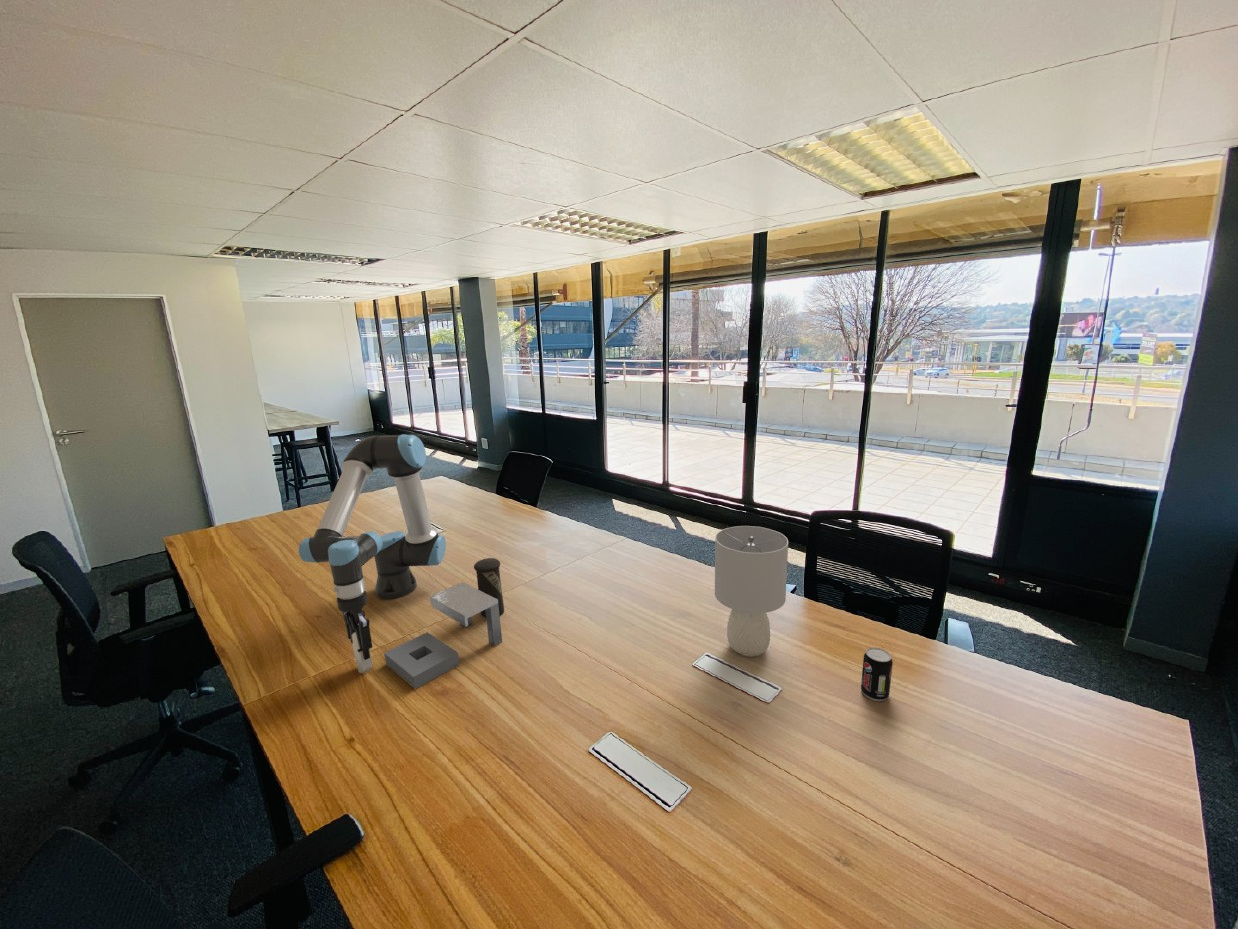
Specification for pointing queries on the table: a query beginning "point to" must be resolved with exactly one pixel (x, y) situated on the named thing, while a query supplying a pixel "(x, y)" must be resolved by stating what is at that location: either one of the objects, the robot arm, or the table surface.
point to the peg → (356, 647)
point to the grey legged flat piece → (469, 608)
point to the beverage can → (876, 674)
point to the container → (490, 580)
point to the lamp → (750, 583)
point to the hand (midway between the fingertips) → (364, 664)
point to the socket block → (421, 659)
